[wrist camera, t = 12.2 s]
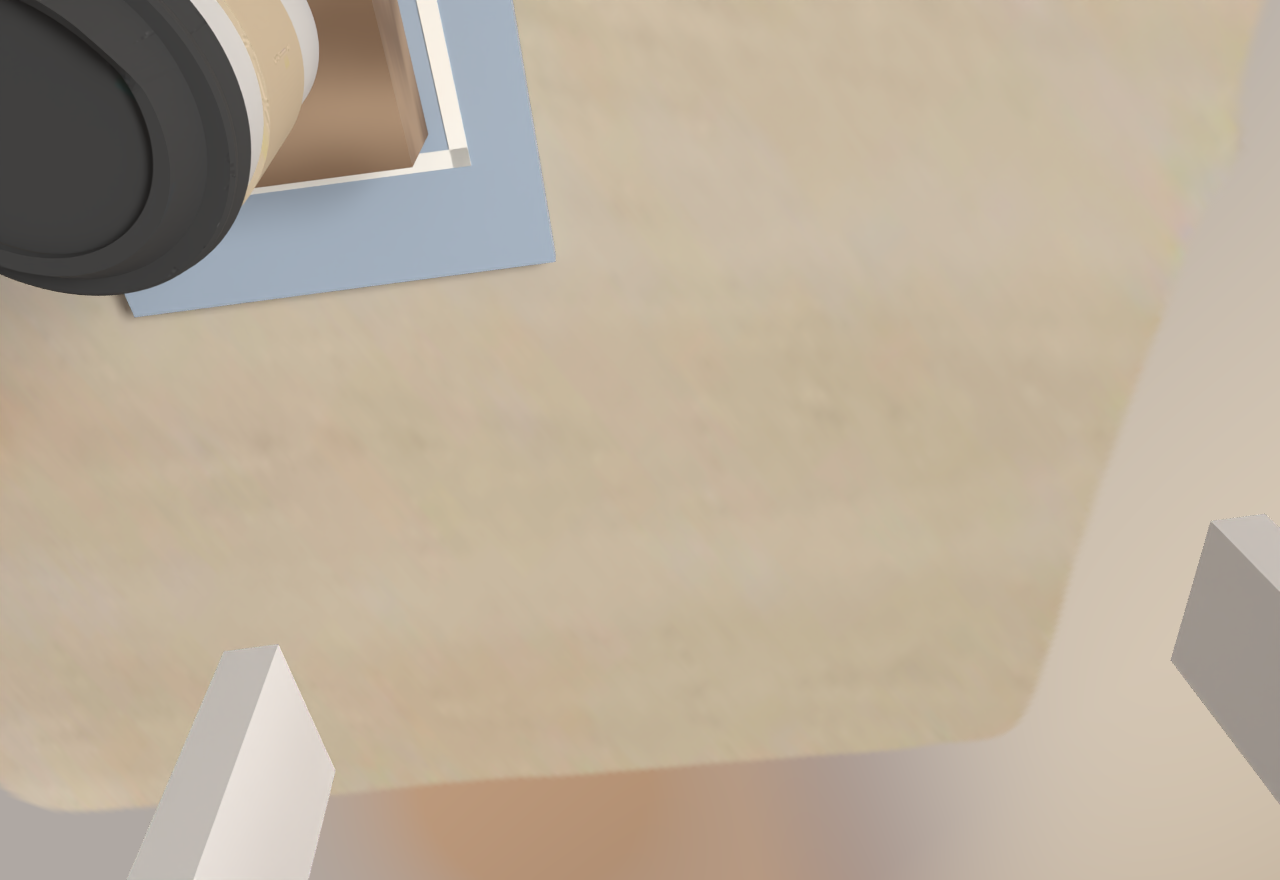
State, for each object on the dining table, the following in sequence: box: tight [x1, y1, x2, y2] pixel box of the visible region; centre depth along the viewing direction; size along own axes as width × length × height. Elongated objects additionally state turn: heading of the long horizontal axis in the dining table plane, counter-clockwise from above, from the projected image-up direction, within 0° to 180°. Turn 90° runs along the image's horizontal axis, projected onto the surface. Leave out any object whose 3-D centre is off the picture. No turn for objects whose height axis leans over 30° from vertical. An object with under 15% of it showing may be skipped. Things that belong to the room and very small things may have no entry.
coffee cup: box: [0, 0, 319, 296], centre depth 26 cm, size 9×9×15 cm
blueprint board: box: [124, 0, 556, 317], centre depth 37 cm, size 24×20×1 cm
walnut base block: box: [255, 0, 428, 188], centre depth 35 cm, size 11×11×5 cm
